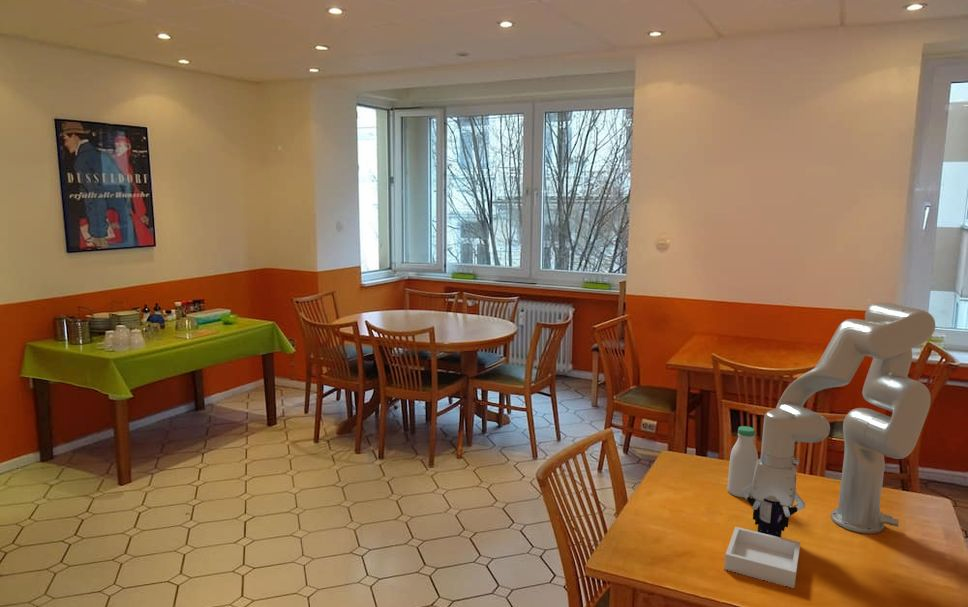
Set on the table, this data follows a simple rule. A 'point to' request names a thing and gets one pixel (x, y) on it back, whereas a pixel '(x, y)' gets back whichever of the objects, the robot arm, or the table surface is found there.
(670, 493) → the table surface
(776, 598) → the table surface
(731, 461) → the milk bottle
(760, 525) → the beverage can
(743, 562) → the box
